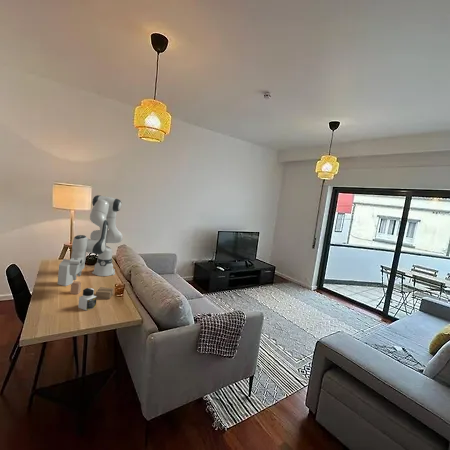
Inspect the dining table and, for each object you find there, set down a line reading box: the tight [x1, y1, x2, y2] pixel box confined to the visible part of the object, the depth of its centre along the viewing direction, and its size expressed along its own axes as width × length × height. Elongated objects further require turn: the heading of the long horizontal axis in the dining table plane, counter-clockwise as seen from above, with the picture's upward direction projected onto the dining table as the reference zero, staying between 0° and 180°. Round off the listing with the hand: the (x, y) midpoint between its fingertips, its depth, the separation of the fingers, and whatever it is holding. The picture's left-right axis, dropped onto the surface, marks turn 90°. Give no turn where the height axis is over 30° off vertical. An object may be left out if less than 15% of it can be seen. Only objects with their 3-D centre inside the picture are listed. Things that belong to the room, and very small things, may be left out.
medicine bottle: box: [77, 287, 97, 311], centre depth 162 cm, size 7×7×12 cm
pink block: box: [70, 280, 82, 295], centre depth 181 cm, size 5×5×8 cm
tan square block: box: [95, 286, 114, 300], centre depth 182 cm, size 9×9×5 cm
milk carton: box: [57, 258, 74, 287], centre depth 194 cm, size 7×7×19 cm
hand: (76, 278), depth 180 cm, fingers open, 8 cm apart
